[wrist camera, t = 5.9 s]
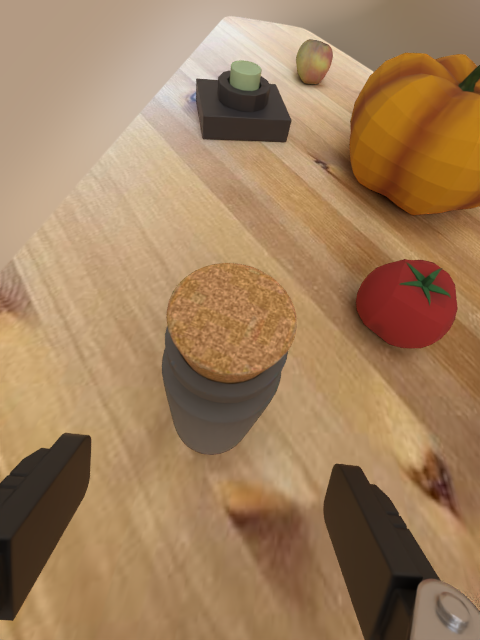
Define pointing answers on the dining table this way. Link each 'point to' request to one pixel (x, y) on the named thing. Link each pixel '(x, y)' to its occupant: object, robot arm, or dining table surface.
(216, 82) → the button housing
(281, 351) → the bottle
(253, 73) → the green button cap
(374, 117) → the decorative pumpkin
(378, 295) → the tomato
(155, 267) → the dining table surface
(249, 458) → the dining table surface
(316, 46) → the apple
